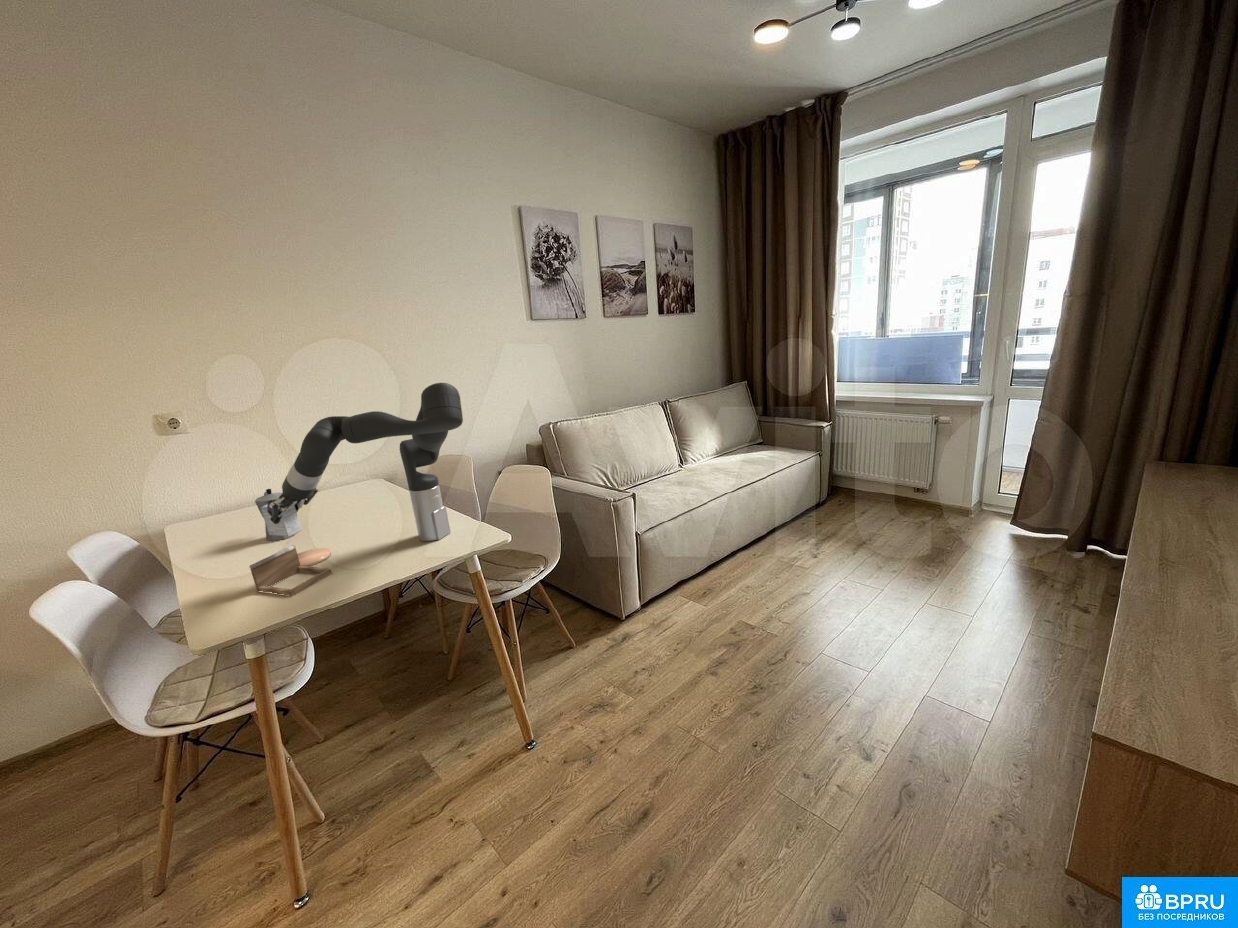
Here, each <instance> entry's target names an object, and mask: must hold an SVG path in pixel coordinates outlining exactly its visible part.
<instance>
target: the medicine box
mask: <svg viewBox="0 0 1238 928" xmlns="http://www.w3.org/2000/svg"><path fill="white" fill-rule="evenodd" d="M267 505H268V504H267ZM267 505H265V506H263V507H261V511H262V514H263V517H264V518H263V517H262V518H263V521H264V524H265V523H266V527H267V530H268V533H269V535H279V536H291V535H293V534H295V533H296V534H298V533H299V532H301V531H302V530H303V529H302V525H301V522H300V519H299V516H298V512H296V508H295V505H293V506H292V507H291V508H290V510H289V511H286V512H285V513H284V514H283V515H282V517H281V519H280V521H279V523H278V524H274V523H273V522H272V521H271V520H270V518H271V515H270V514H269V513H268V512H267ZM286 507H287V506H286ZM278 510H279V511H280V512H281V509H280V508H279V509H278ZM296 534H295V535H296Z"/></svg>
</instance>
